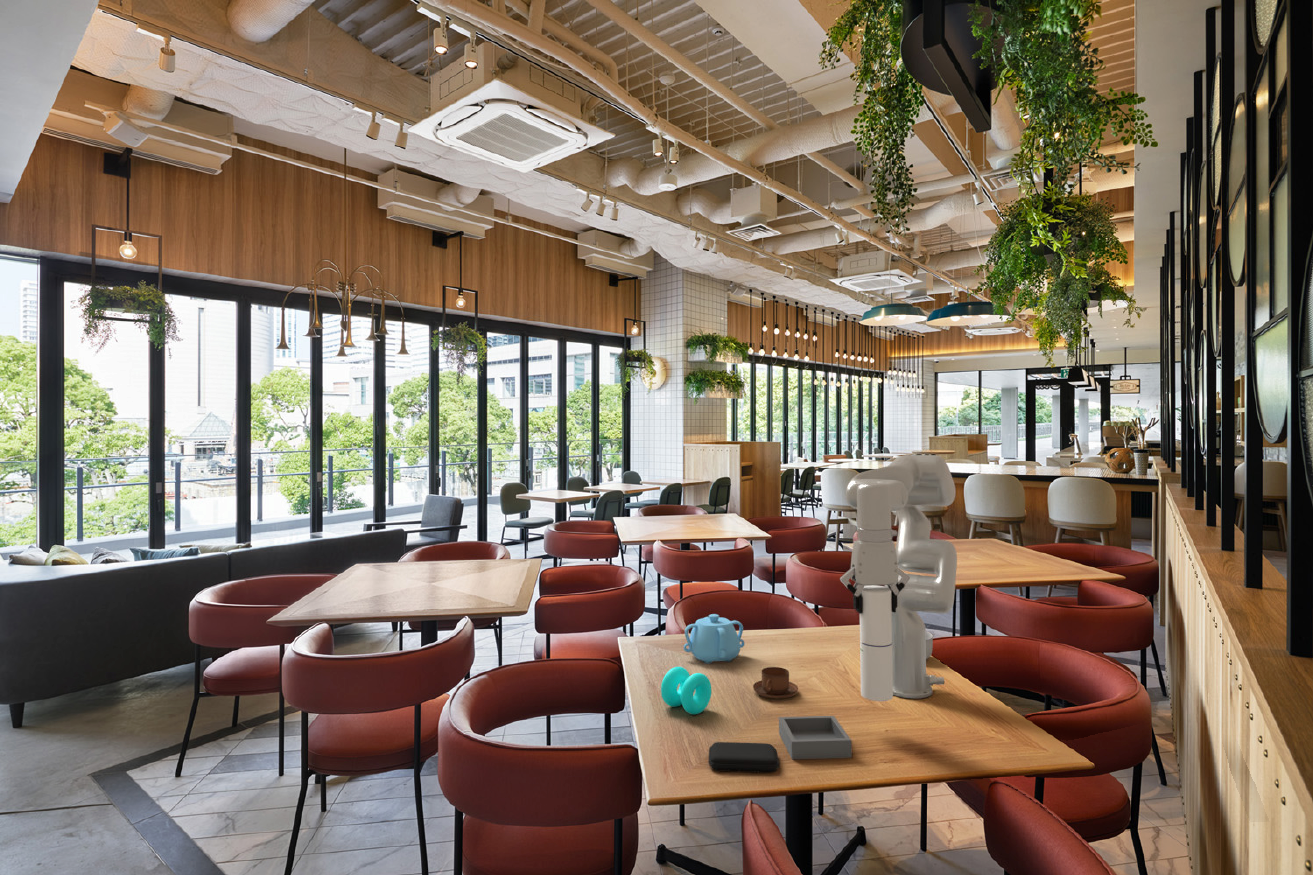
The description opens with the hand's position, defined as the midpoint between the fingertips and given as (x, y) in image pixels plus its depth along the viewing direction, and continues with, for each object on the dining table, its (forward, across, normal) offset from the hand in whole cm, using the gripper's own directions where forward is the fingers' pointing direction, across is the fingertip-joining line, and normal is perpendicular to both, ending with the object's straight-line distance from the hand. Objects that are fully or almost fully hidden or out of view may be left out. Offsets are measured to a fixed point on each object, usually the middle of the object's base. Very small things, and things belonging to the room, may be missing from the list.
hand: (875, 610), depth 161 cm
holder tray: (+28, +17, +6) cm, 33 cm away
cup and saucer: (+29, +19, -25) cm, 43 cm away
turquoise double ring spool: (+29, +44, -16) cm, 55 cm away
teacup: (+30, -29, -52) cm, 67 cm away
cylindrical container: (+20, 0, 0) cm, 20 cm away
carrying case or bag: (+29, +34, +12) cm, 46 cm away
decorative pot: (+29, +32, -56) cm, 71 cm away
